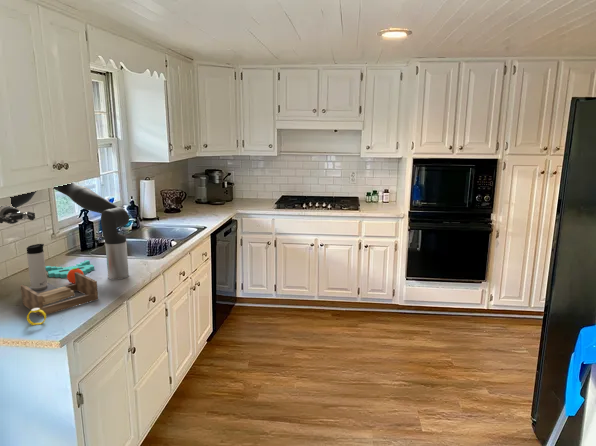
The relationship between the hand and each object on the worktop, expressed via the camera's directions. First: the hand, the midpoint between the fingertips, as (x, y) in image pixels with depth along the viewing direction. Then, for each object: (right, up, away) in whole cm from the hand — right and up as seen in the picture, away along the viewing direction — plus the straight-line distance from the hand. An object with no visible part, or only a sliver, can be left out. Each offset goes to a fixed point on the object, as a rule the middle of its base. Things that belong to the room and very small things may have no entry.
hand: (22, 219), depth 193 cm
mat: (+8, -31, 0) cm, 32 cm away
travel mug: (+8, -31, 0) cm, 32 cm away
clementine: (+20, -29, +8) cm, 36 cm away
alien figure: (+10, -26, +24) cm, 37 cm away
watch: (+27, -39, -34) cm, 58 cm away
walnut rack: (+25, -34, -13) cm, 44 cm away
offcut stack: (+21, -34, -11) cm, 41 cm away
